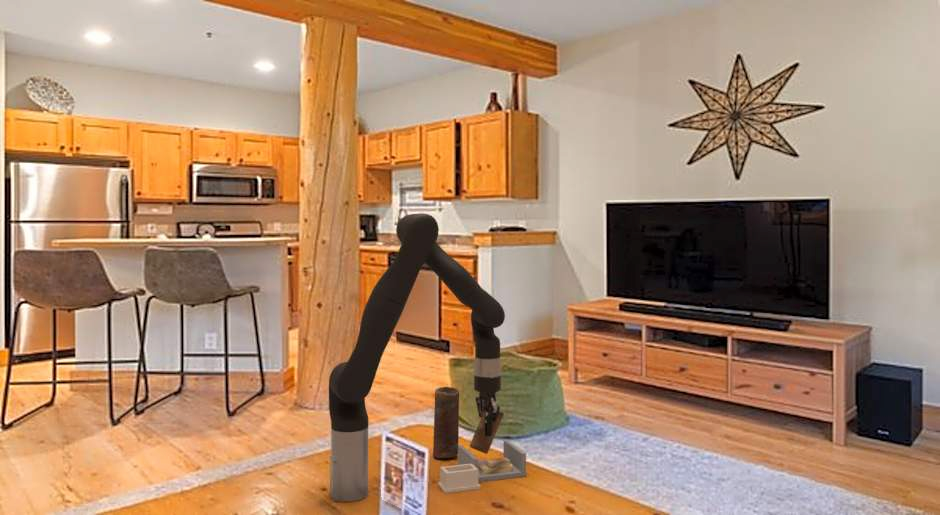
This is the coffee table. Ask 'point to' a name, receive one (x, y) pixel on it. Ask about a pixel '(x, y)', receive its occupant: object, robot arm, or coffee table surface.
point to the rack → (510, 452)
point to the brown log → (446, 422)
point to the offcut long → (495, 469)
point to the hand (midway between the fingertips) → (487, 435)
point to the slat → (480, 439)
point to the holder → (458, 478)
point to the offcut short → (497, 462)
